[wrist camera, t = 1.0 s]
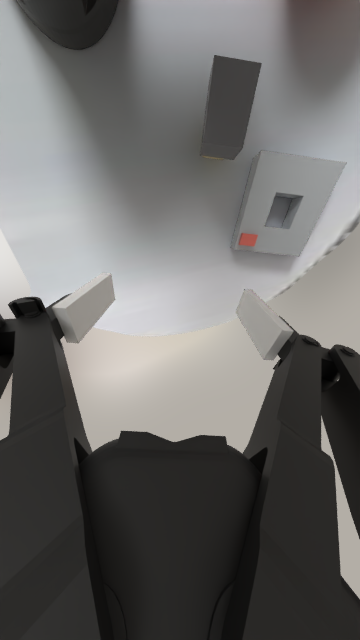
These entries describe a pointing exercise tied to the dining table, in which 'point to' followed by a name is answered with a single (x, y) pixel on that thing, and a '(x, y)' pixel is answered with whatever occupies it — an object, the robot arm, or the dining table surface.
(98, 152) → the dining table surface
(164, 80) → the dining table surface
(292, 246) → the socket plate
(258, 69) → the plug
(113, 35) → the dining table surface
